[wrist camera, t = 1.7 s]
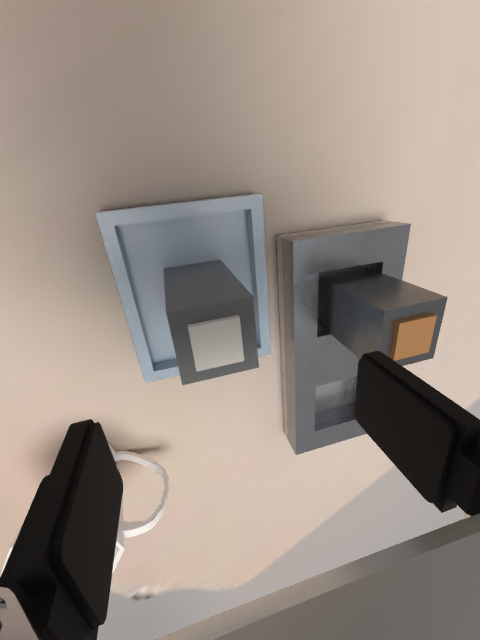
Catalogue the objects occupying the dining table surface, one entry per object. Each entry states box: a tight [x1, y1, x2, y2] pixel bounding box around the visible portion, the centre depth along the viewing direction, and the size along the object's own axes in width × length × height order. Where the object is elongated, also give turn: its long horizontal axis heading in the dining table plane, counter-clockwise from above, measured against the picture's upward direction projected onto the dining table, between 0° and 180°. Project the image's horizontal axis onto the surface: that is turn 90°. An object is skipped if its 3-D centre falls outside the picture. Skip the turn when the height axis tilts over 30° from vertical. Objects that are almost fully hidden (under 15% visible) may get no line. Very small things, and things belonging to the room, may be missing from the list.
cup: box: [0, 442, 169, 577], centre depth 22 cm, size 7×10×8 cm
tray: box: [95, 194, 271, 383], centre depth 21 cm, size 12×10×2 cm
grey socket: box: [276, 220, 447, 455], centre depth 22 cm, size 20×9×9 cm, turn 5°
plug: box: [163, 260, 259, 385], centre depth 17 cm, size 4×4×8 cm
